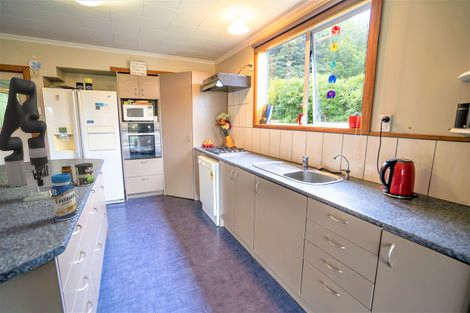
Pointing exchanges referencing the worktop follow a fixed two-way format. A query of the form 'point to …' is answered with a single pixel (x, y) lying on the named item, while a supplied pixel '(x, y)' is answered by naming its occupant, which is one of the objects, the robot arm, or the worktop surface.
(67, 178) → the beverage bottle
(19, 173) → the robot arm
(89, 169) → the coffee can
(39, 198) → the pale green pegged board
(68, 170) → the condiment
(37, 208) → the worktop surface
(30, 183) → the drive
